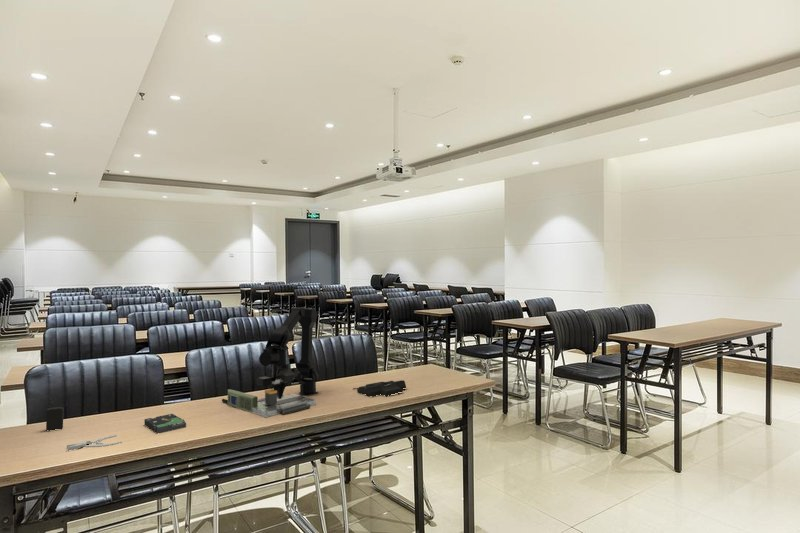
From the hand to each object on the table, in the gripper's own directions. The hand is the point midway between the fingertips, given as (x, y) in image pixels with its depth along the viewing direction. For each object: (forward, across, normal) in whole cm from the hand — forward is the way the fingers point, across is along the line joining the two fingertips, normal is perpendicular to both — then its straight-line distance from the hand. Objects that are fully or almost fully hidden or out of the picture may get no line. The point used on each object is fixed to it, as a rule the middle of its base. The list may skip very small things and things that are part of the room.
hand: (279, 398), depth 204 cm
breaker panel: (+4, +1, 0) cm, 4 cm away
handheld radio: (+4, -11, +14) cm, 19 cm away
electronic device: (+4, +48, -8) cm, 49 cm away
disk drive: (+4, -42, +12) cm, 44 cm away
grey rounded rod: (+4, +2, +9) cm, 10 cm away
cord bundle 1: (+4, +2, -9) cm, 10 cm away
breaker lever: (+1, -4, 0) cm, 4 cm away
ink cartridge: (+4, -71, +38) cm, 81 cm away
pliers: (+4, -66, +9) cm, 67 cm away
